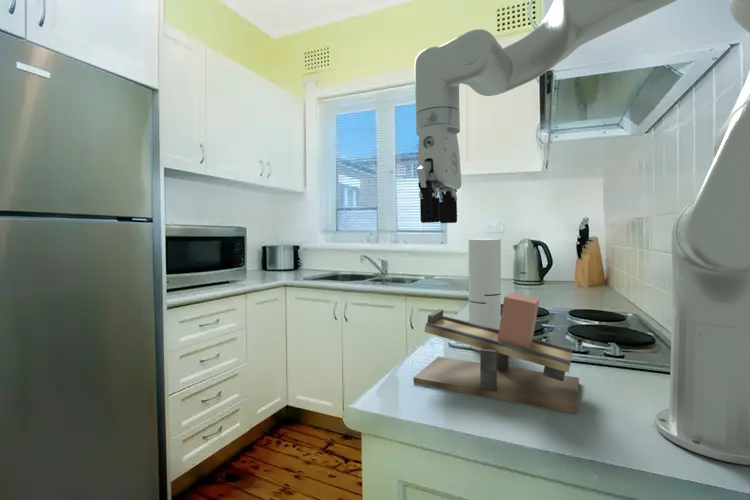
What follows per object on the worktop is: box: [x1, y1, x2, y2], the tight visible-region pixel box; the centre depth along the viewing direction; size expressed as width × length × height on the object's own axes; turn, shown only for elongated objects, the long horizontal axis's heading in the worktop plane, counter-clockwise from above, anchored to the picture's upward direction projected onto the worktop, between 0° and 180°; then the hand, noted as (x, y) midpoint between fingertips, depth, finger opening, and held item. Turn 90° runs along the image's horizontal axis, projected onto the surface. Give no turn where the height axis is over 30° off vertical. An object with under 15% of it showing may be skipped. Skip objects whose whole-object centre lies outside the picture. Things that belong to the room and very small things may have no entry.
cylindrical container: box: [468, 238, 502, 352], centre depth 92 cm, size 7×7×25 cm
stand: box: [413, 348, 580, 415], centre depth 70 cm, size 26×13×8 cm, turn 61°
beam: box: [424, 308, 574, 381], centre depth 70 cm, size 24×8×5 cm, turn 61°
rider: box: [497, 292, 540, 349], centre depth 68 cm, size 5×5×8 cm
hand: (439, 222), depth 70 cm, fingers open, 9 cm apart
